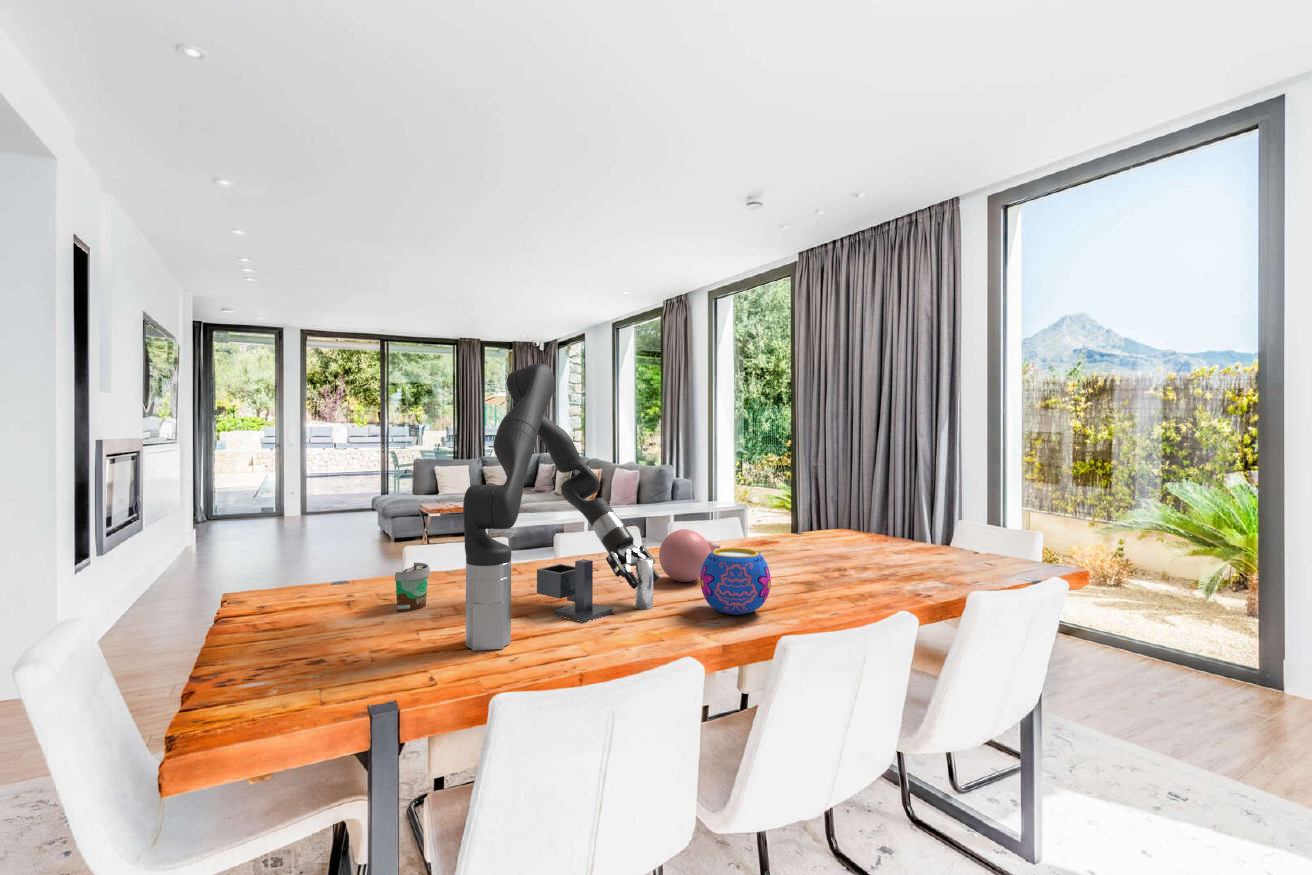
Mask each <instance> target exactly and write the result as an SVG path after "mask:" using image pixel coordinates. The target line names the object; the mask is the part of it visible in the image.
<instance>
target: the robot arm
mask: <svg viewBox="0 0 1312 875" xmlns="http://www.w3.org/2000/svg"><path fill="white" fill-rule="evenodd" d="M555 383H556V382H555V376H554V373H553V371H552V369H551V368H550V366H548V365H547V364H546V363H541V362H537V363H533V364H532V363H531V364H530V365H528V366H525V367H522V368H519V369H516V370H514V371H512V372H510V373H509V374H507V377H506V387H507V390H508V393H509V395H510V397H511V399H512V400H513V402H514V404H515V406H513V407H512V408H511V409H510V410H509V411H508V413H506V415H505V416H504V417H503V419H502V420H501V421H500V423H499V425H498V429H497V431H496V434H495V437H494V440H493V444H492V445H493V451H494V454H495V457H496V459H497V460H498V463H499V464H500V466H501V467H502V469H503V471H504V474H505V476H506V480H505V482H504V483H502V484H473V485H470V486H468V488H467V489H466V490H465V493H464V496H463V497H464V498H463V502H462V503H463V504H462V510H463V511H462V514H463V515H462V516H463V531H464V553H465V646H466V647H467V648H469V649H471V651H473V652H474V651H477V652H478V651H489V650H490V651H491V650H503V649H504V647H506V646H508V645H509V644H511V642H512V549H511V547H510V546H508V545H507V544H505V543H502V542H500V541H498V540H496V539H494V538H492V537H491V536H490V535H489V534H488V533H487V530H507V529H509V530H510V529H511V528H513V527H514V525H515V524H516V522H517V519H518V517H519V513H520V508H521V504H522V498H523V493H524V486H525V481H526V477H527V473H528V469H529V466H530V462H531V459H532V457H533V453H534V451H535V447H536V443H537V439H538V437H539V438H540V439H541V441H542V443H543V445H544V447H545V448H546V451H547V452H548V454H549V456H550V457H551V460H552V462H553V464H554V465H555V468H556V469H557V471H558V472H559V473H562V474H564V473H565V474H566V473H570V472H574V471H578V473H577V474H575V475H573V476H571V477H570V478H567V479H566V480H565V481H563V482H562V484H561V486H560V492H561V495H562V496H563V498H564V499H565V500H566V501H567V502H568V503H569V504H570V505H572V506H573V507H574V508H575V509H577V510H578V511H579V512H580V513H581V514H582V515H583V516H584V518H585V519H586V520H587V521H588V523H589V524H590V526H591V527H592V529H593V531H594V532H595V533H594V534H595V535H596V537H597V538H598V539H599V541H600V543H601V544H602V545H603V547H604V548H605V550H606V551H607V553H608V555H607V556H605V557H606V558H605V560H606V562H607V564H608V565H609V567H610V568H611V570H612V572H613V573H614V575H615V576H616V578H618V577H622V578H624V579H625V580H626V582H627V583H628V586H630V587H631V588H632V589H633V590H636V587H637V586H638V585H639V582H638V580H637V579H636V575H635V574H634V573H633V571H631V567H636V559H640V558H649V559H653V565H654V564H655V563H656V562H657V560H656V559H655V558H654V557H653V555H652V554H651V553H650V552H649V550H648V549H647V547H646V546H645V545H644V544H641V545H640V546H638V547H637V546H636V545H635V544H634V537H633V535H632V533H630V531H629V529H628V528H627V526H625V523H623V521H622V520H621V518H620V517H619V516H618V515H617V514H616V512H614V510H613V509H612V507H611V506H610V504H609V503H608V501H607V500H606V499H605V498H603V497H595V498H593V499H589V500H587V499H588V498H590V497H591V496H593V495H594V494H596V493H598V492H599V490H600V488H601V482H600V479H599V478H598V476H597V475H596V473H595V472H594V471H592V469H590V467H589V466H588V465H587V464H586V463H585V461H584V459H583V458H582V456H580V453H579V451H578V450H577V448H576V445H575V444H574V442H573V439H572V438H571V436H570V435H569V434H568V433H567V431H566V430H564V429H563V428H562V427H561V426H559V425H557V423H555V422H553V421H552V420H551V419H549V418H548V417H547V416H546V415H545V413H546V411H547V408H548V406H549V403H550V401H551V399H552V398H553V397H552V396H553V394H554V391H555ZM656 570H657V569H656V568H655V567H654V566H653V583H656V582H658V581H659V579H660V577H661V576H660V575H659V573H658V571H656Z"/></svg>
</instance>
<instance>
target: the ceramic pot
mask: <svg viewBox="0 0 1312 875" xmlns="http://www.w3.org/2000/svg"><path fill="white" fill-rule="evenodd" d="M699 584H700V589H701V592H702V595H703V597H704V599H705V600H706V603H707V605H709V606H711V607H712V608H713V609H715V610H716V611H719V612H721V613H724V614H728V615H731V616H732V615H734V616H739V615H745V614H746V615H747V614H749V613H752V612H754V611H756V610H758V609H760V608H761V607H763V605H764V604H765V602H766V601H767V598H768V597H769V595H770V592H771V588H772V587H771V584H772V579H771V573H770V569H769V565H768V563H767V562H766V559H765V558H764V557H763V556H762V555H761V554H760V553H759V552H758V551H756V550H753V549H748V548H742V547H740V548H739V547H724V548H719V549H715V550H714V551H713V552H711V553H710V554H709V555H708V556H707V558H706V559H705V561H704V563H703V565H702V569H701V574H700V577H699Z"/></svg>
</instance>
